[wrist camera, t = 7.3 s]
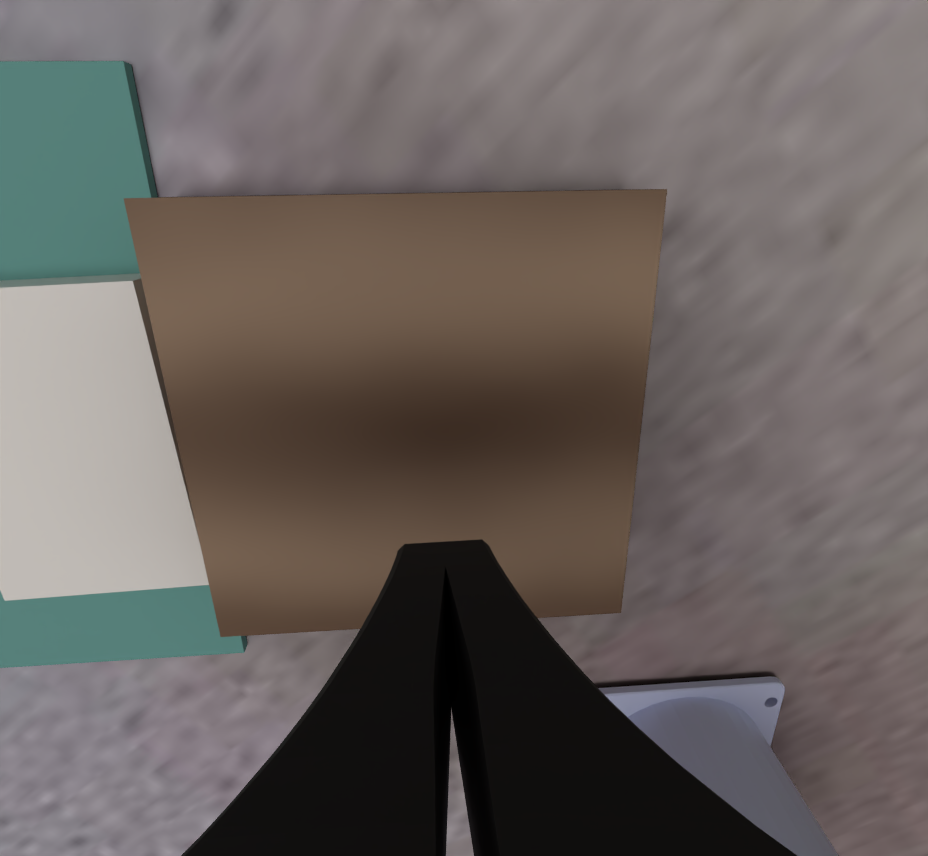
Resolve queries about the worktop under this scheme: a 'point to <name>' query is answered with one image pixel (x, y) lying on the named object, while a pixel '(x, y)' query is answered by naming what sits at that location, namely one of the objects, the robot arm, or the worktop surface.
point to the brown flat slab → (403, 388)
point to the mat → (73, 255)
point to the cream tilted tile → (88, 445)
